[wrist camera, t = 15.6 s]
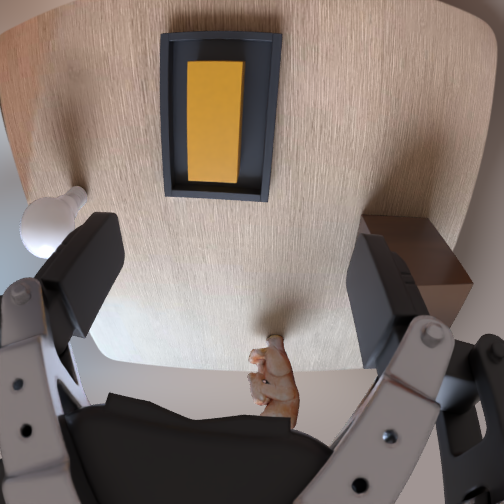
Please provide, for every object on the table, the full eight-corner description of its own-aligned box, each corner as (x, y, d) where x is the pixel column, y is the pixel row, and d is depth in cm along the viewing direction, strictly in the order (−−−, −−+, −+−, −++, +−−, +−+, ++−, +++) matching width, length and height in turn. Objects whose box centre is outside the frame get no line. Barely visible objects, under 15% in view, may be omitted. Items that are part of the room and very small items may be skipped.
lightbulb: (112, 199, 34) (67, 255, 25) (82, 224, 36) (39, 279, 27) (80, 159, 31) (23, 204, 22) (52, 188, 33) (1, 236, 24)
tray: (281, 35, 23) (282, 33, 21) (268, 193, 33) (268, 202, 31) (167, 34, 23) (160, 33, 21) (170, 188, 33) (164, 196, 31)
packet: (196, 60, 24) (187, 61, 21) (245, 61, 24) (242, 61, 21) (195, 167, 31) (188, 180, 28) (239, 169, 31) (236, 183, 28)
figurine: (253, 327, 45) (248, 420, 33) (302, 335, 46) (308, 425, 34) (245, 351, 49) (239, 435, 37) (290, 357, 50) (293, 440, 38)
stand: (361, 214, 34) (394, 285, 24) (428, 218, 33) (474, 283, 24) (348, 275, 39) (368, 351, 29) (409, 275, 38) (440, 344, 29)
